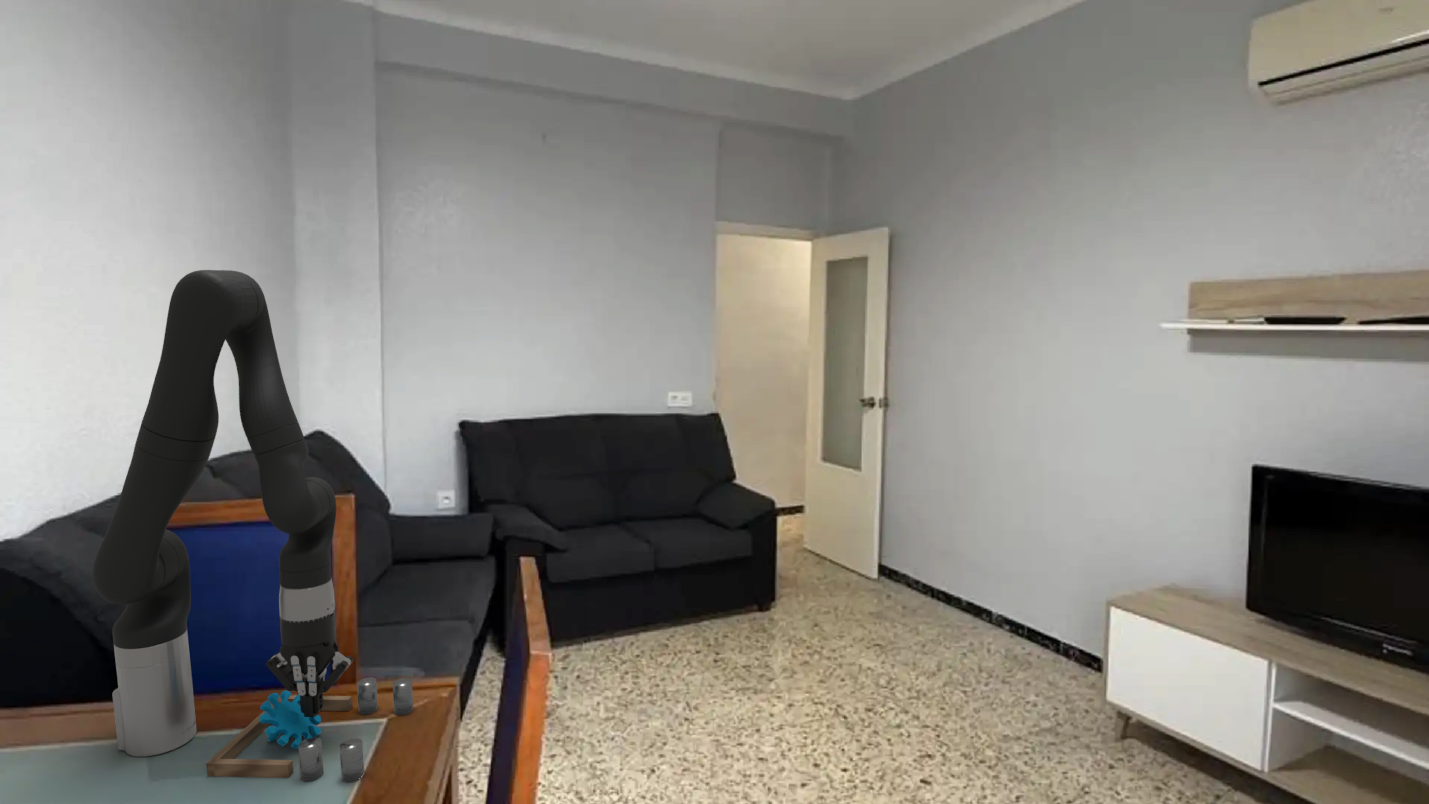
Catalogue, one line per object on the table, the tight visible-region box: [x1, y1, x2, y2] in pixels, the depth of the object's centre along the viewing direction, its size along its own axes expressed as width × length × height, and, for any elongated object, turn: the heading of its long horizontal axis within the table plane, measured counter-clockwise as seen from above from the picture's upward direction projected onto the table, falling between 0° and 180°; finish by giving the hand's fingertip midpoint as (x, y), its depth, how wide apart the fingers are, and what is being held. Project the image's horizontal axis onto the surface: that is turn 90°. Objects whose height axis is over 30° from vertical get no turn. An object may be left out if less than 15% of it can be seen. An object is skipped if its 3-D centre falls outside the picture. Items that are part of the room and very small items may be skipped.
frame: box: [205, 694, 354, 779], centre depth 124 cm, size 12×19×2 cm, turn 179°
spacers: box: [297, 677, 414, 783], centre depth 124 cm, size 9×21×5 cm, turn 179°
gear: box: [259, 689, 322, 750], centre depth 124 cm, size 11×6×10 cm
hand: (312, 714), depth 124 cm, fingers closed
